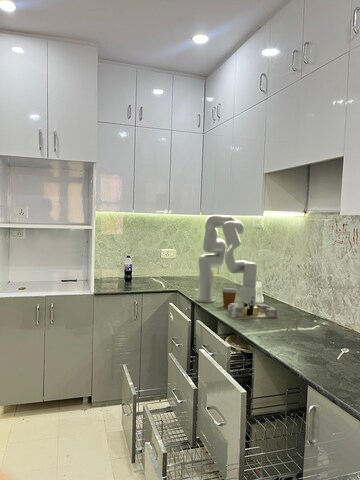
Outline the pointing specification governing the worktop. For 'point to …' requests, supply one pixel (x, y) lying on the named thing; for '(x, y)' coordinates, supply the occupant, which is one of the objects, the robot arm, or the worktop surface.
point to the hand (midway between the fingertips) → (247, 314)
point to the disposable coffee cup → (228, 295)
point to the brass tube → (245, 310)
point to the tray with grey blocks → (263, 312)
